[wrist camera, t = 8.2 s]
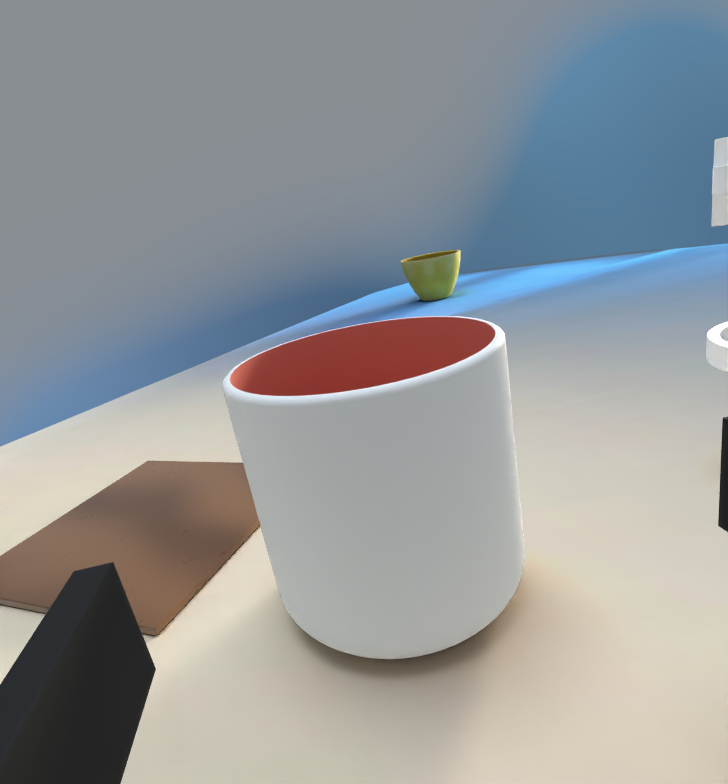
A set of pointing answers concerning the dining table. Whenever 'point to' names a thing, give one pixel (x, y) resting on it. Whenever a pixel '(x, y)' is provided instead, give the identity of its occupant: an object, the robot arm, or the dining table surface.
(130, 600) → the coaster
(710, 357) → the white openwork cylinder
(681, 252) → the dining table surface
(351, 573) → the cup
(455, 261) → the flower pot
